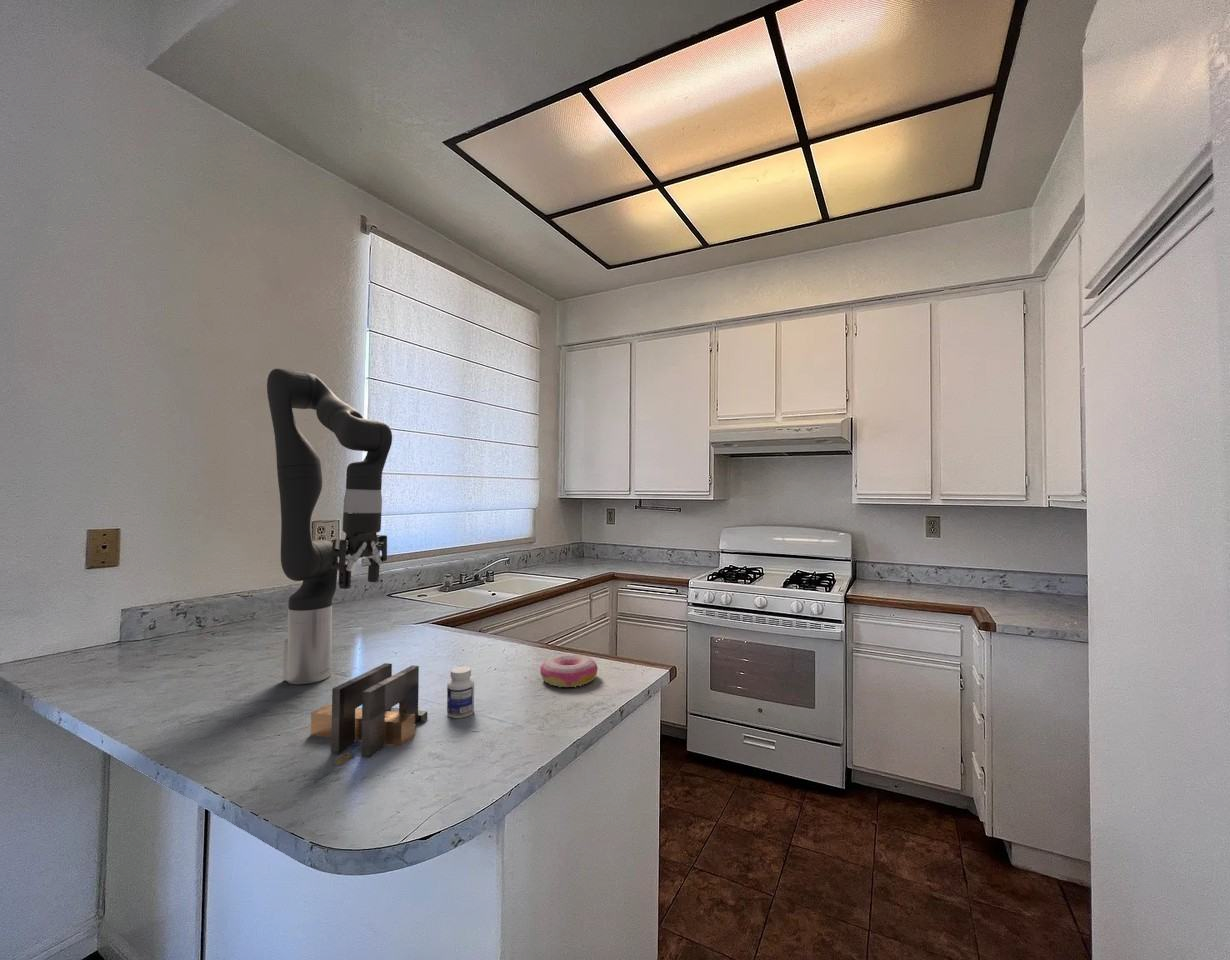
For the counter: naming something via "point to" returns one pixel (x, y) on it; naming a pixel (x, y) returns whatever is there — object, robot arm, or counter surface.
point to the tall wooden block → (395, 727)
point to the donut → (568, 670)
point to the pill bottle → (460, 693)
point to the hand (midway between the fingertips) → (359, 585)
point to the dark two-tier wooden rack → (372, 707)
